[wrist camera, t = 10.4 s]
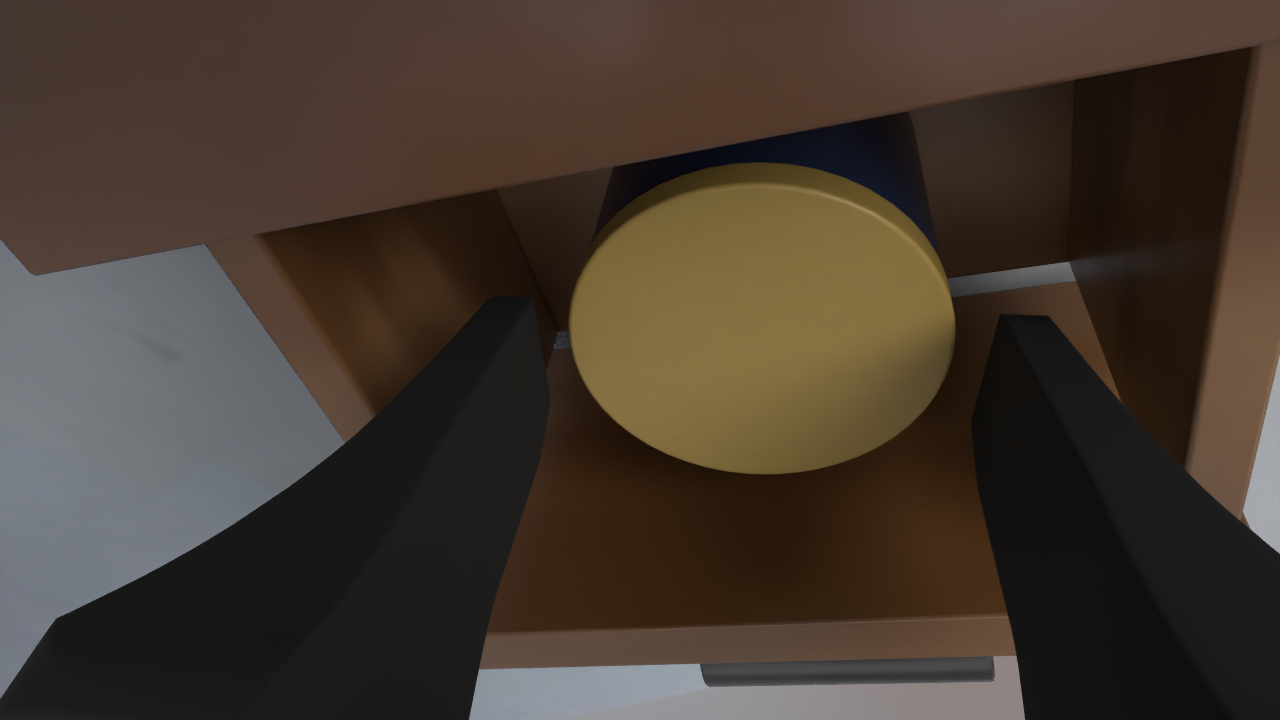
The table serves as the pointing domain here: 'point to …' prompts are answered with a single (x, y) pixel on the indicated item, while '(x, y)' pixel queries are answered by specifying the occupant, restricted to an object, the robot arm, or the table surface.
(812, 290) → the tin
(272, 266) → the drawer
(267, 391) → the table surface
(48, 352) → the table surface
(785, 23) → the cabinet
